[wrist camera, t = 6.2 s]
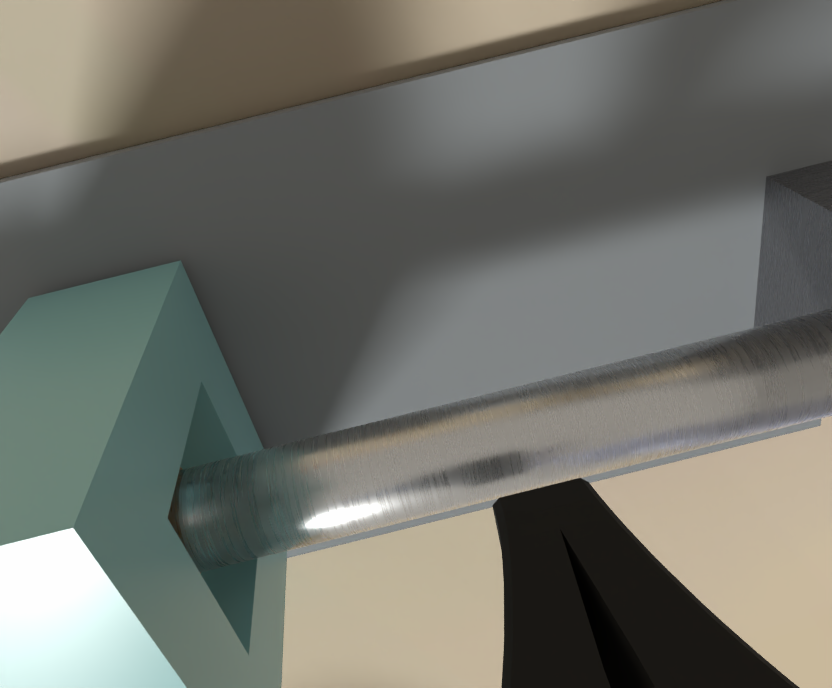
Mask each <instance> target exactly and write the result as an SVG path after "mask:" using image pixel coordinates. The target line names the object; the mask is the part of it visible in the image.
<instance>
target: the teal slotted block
mask: <svg viewBox="0 0 832 688" xmlns="http://www.w3.org/2000/svg"><path fill="white" fill-rule="evenodd" d="M263 449H264V448H263V446H262V443H261V441H260V439H259V437H258V434H257V432H256V430H255V428H254V425H253V423H252V421H251V418H250V416H249V414H248V412H247V409H246V407H245V405H244V403H243V400H242V398H241V396H240V394H239V391H238V389H237V387H236V384H235V382H234V380H233V378H232V375H231V373H230V371H229V369H228V366H227V364H226V362H225V360H224V357H223V355H222V353H221V350H220V348H219V346H218V344H217V341H216V339H215V337H214V335H213V332H212V330H211V328H210V326H209V323H208V321H207V319H206V317H205V314H204V312H203V310H202V307H201V305H200V303H199V301H198V298H197V296H196V294H195V292H194V289H193V287H192V285H191V283H190V280H189V278H188V276H187V273H186V271H185V269H184V267H183V264H182V262H181V260H180V261H176V262H172V263H168V264H164V265H160V266H156V267H152V268H148V269H144V270H140V271H136V272H132V273H128V274H124V275H120V276H116V277H111V278H107V279H103V280H99V281H95V282H91V283H87V284H83V285H79V286H75V287H71V288H67V289H63V290H59V291H55V292H51V293H47V294H43V295H39V296H35V297H31V298H28V299H27V301H26V302H25V303H24V304H23V306H22V307H21V308H20V310H19V311H18V312H17V313H16V315H15V316H14V317H13V319H12V320H11V321H10V322H9V324H8V325H7V326H6V328H5V329H4V330H3V331H2V333H1V334H0V688H281V682H282V658H283V634H284V610H285V586H286V562H287V551H285V552H281V553H277V554H273V555H269V556H265V557H261V558H257V559H253V560H249V561H245V562H241V563H236V564H232V565H228V566H224V567H220V568H216V569H212V570H208V571H204V572H202V573H201V574H200V572H199V571H198V569H197V567H196V565H195V564H194V562H193V560H192V559H191V557H190V555H189V554H188V552H187V550H186V549H185V547H184V545H183V544H182V542H181V540H180V538H179V537H178V535H177V533H176V532H175V530H174V528H173V527H172V525H171V523H170V522H169V520H168V514H169V510H170V506H171V502H172V498H173V494H174V490H175V486H176V482H177V478H178V474H179V469H180V467H181V468H183V469H186V468H190V467H194V466H198V465H202V464H206V463H210V462H215V461H219V460H223V459H227V458H231V457H235V456H239V455H243V454H247V453H251V452H255V451H259V450H263Z"/></svg>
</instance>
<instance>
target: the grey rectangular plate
mask: <svg viewBox="0 0 832 688" xmlns="http://www.w3.org/2000/svg"><path fill="white" fill-rule="evenodd" d="M831 160H832V0H723V1H719V2H715V3H711V4H707V5H703V6H699V7H695V8H691V9H687V10H683V11H679V12H675V13H671V14H667V15H663V16H659V17H655V18H651V19H646V20H642V21H638V22H634V23H630V24H626V25H622V26H618V27H614V28H610V29H606V30H602V31H598V32H594V33H590V34H586V35H582V36H578V37H574V38H570V39H566V40H562V41H558V42H553V43H549V44H545V45H541V46H537V47H533V48H529V49H525V50H521V51H517V52H513V53H509V54H505V55H501V56H497V57H493V58H489V59H485V60H481V61H477V62H473V63H469V64H464V65H460V66H456V67H452V68H448V69H444V70H440V71H436V72H432V73H428V74H424V75H420V76H416V77H412V78H408V79H404V80H400V81H396V82H392V83H388V84H384V85H380V86H375V87H371V88H367V89H363V90H359V91H355V92H351V93H347V94H343V95H339V96H335V97H331V98H327V99H323V100H319V101H315V102H311V103H307V104H303V105H299V106H295V107H291V108H287V109H282V110H278V111H274V112H270V113H266V114H262V115H258V116H254V117H250V118H246V119H242V120H238V121H234V122H230V123H226V124H222V125H218V126H214V127H210V128H206V129H202V130H198V131H193V132H189V133H185V134H181V135H177V136H173V137H169V138H165V139H161V140H157V141H153V142H149V143H145V144H141V145H137V146H133V147H129V148H125V149H121V150H117V151H113V152H109V153H104V154H100V155H96V156H92V157H88V158H84V159H80V160H76V161H72V162H68V163H64V164H60V165H56V166H52V167H48V168H44V169H40V170H36V171H32V172H28V173H24V174H20V175H16V176H11V177H7V178H3V179H0V334H1V333H2V331H3V330H4V329H5V328H6V326H7V325H8V324H9V322H10V321H11V320H12V319H13V317H14V316H15V315H16V313H17V312H18V311H19V310H20V308H21V307H22V306H23V304H24V303H25V302H26V301H27V299H28V298H31V297H35V296H39V295H43V294H47V293H51V292H55V291H59V290H63V289H67V288H71V287H75V286H79V285H83V284H87V283H91V282H95V281H99V280H103V279H107V278H111V277H116V276H120V275H124V274H128V273H132V272H136V271H140V270H144V269H148V268H152V267H156V266H160V265H164V264H168V263H172V262H176V261H180V260H181V262H182V264H183V267H184V269H185V271H186V273H187V276H188V278H189V280H190V283H191V285H192V287H193V289H194V292H195V294H196V296H197V298H198V301H199V303H200V305H201V307H202V310H203V312H204V314H205V317H206V319H207V321H208V323H209V326H210V328H211V330H212V332H213V335H214V337H215V339H216V341H217V344H218V346H219V348H220V350H221V353H222V355H223V357H224V360H225V362H226V364H227V366H228V369H229V371H230V373H231V375H232V378H233V380H234V382H235V384H236V387H237V389H238V391H239V394H240V396H241V398H242V400H243V403H244V405H245V407H246V409H247V412H248V414H249V416H250V418H251V421H252V423H253V425H254V428H255V430H256V432H257V434H258V437H259V439H260V441H261V443H262V446H263V448H264V449H267V448H271V447H275V446H279V445H283V444H287V443H291V442H295V441H299V440H303V439H307V438H311V437H315V436H319V435H323V434H327V433H331V432H335V431H340V430H344V429H348V428H352V427H356V426H360V425H364V424H368V423H372V422H376V421H380V420H384V419H388V418H392V417H396V416H400V415H404V414H408V413H412V412H416V411H420V410H424V409H428V408H432V407H436V406H440V405H444V404H448V403H452V402H456V401H460V400H464V399H469V398H473V397H477V396H481V395H485V394H489V393H493V392H497V391H501V390H505V389H509V388H513V387H517V386H521V385H525V384H529V383H533V382H537V381H541V380H545V379H549V378H553V377H557V376H561V375H565V374H569V373H573V372H577V371H581V370H585V369H589V368H593V367H598V366H602V365H606V364H610V363H614V362H618V361H622V360H626V359H630V358H634V357H638V356H642V355H646V354H650V353H654V352H658V351H662V350H666V349H670V348H674V347H678V346H682V345H686V344H690V343H694V342H698V341H702V340H706V339H710V338H714V337H718V336H722V335H727V334H731V333H735V332H739V331H743V330H747V329H751V328H754V318H755V306H756V294H757V282H758V270H759V258H760V246H761V234H762V222H763V210H764V198H765V186H766V177H767V176H771V175H775V174H779V173H783V172H787V171H791V170H795V169H799V168H803V167H807V166H811V165H815V164H819V163H823V162H827V161H831ZM820 424H821V418H820V419H816V420H812V421H808V422H804V423H800V424H796V425H792V426H788V427H784V428H780V429H776V430H772V431H768V432H764V433H760V434H756V435H752V436H748V437H744V438H740V439H736V440H732V441H728V442H724V443H720V444H716V445H712V446H708V447H704V448H700V449H696V450H692V451H688V452H684V453H679V454H675V455H671V456H667V457H663V458H659V459H655V460H651V461H647V462H643V463H639V464H635V465H631V466H627V467H623V468H619V469H615V470H611V471H607V472H603V473H599V474H595V475H591V476H587V477H583V478H582V479H584V480H586V481H588V482H589V483H591V482H595V481H599V480H603V479H607V478H611V477H615V476H619V475H623V474H627V473H631V472H635V471H640V470H644V469H648V468H652V467H656V466H660V465H664V464H668V463H672V462H676V461H680V460H684V459H688V458H692V457H696V456H700V455H704V454H708V453H712V452H716V451H720V450H724V449H728V448H732V447H736V446H740V445H744V444H748V443H752V442H756V441H760V440H764V439H768V438H772V437H776V436H780V435H784V434H789V433H793V432H797V431H801V430H805V429H809V428H813V427H817V426H820ZM496 501H497V499H494V500H490V501H486V502H482V503H478V504H474V505H470V506H466V507H462V508H458V509H454V510H450V511H446V512H442V513H438V514H434V515H430V516H426V517H422V518H418V519H414V520H410V521H406V522H402V523H398V524H394V525H390V526H385V527H381V528H377V529H373V530H369V531H365V532H361V533H357V534H353V535H349V536H345V537H341V538H337V539H333V540H329V541H325V542H321V543H317V544H313V545H309V546H305V547H301V548H297V549H293V550H289V551H287V558H289V557H293V556H297V555H301V554H305V553H309V552H313V551H317V550H321V549H325V548H329V547H333V546H338V545H342V544H346V543H350V542H354V541H358V540H362V539H366V538H370V537H374V536H378V535H382V534H386V533H390V532H394V531H398V530H402V529H406V528H410V527H414V526H418V525H422V524H426V523H430V522H434V521H438V520H442V519H446V518H450V517H454V516H458V515H462V514H466V513H470V512H474V511H478V510H482V509H487V508H491V507H493V504H494V503H495V502H496Z"/></svg>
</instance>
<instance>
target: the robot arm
mask: <svg viewBox="0 0 832 688" xmlns="http://www.w3.org/2000/svg"><path fill="white" fill-rule="evenodd" d="M493 510H494V515H495V520H496V525H497V530H498V535H499V540H500V544H501V549H502V560H503V576H504V656H503V673H502V688H799V687H798V686H797V685H795V684H794V683H793V682H792V681H790V680H789V679H788V678H787V677H786V676H784V675H783V674H782V673H781V672H780V671H778V670H777V669H776V668H775V667H774V666H772V665H771V664H770V663H769V662H768V661H767V660H765V659H764V658H763V657H762V656H761V655H759V654H758V653H757V652H756V651H755V650H754V649H753V648H751V647H750V646H749V645H748V644H747V643H746V642H745V641H743V640H742V639H741V638H740V637H739V636H738V635H737V634H735V633H734V632H733V631H732V630H731V629H730V628H729V627H728V626H726V625H725V624H724V623H723V622H722V621H721V620H720V619H719V618H718V617H716V616H715V615H714V614H713V613H712V612H711V611H710V610H709V609H708V608H707V607H706V606H705V605H703V604H702V603H701V602H700V601H699V600H698V599H697V598H696V597H695V596H694V595H693V594H692V593H691V592H690V591H689V590H688V589H687V588H686V587H685V586H684V585H683V584H682V583H681V582H680V581H679V580H678V579H677V578H676V577H674V576H673V575H672V574H671V573H670V572H669V571H668V570H667V569H666V568H665V567H664V566H663V565H662V564H661V563H660V562H659V561H658V560H657V559H656V558H655V557H654V556H653V555H652V554H651V553H650V552H649V551H648V549H647V548H646V547H645V546H644V545H643V544H642V543H641V542H640V541H639V540H638V539H637V538H636V537H635V536H634V535H633V533H632V532H631V531H630V530H629V529H628V528H627V527H626V526H625V525H624V524H623V523H622V521H621V520H620V519H619V518H618V517H617V516H616V515H615V514H614V512H613V511H612V510H611V509H610V508H609V507H608V506H607V504H606V503H605V502H604V501H603V500H602V498H601V497H600V496H599V495H598V494H597V492H596V491H595V490H594V489H593V487H592V486H591V485H590V483H589V482H588V481H586V480H584V479H582V478H577V479H573V480H569V481H565V482H561V483H557V484H553V485H549V486H545V487H540V488H536V489H532V490H528V491H524V492H520V493H516V494H512V495H508V496H504V497H500V498H498V499H497V501H496V502H495V503H494V504H493Z"/></svg>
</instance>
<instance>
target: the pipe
mask: <svg viewBox="0 0 832 688" xmlns="http://www.w3.org/2000/svg"><path fill="white" fill-rule="evenodd" d="M828 416H832V160H831V161H827V162H823V163H819V164H815V165H811V166H807V167H803V168H799V169H795V170H791V171H787V172H783V173H779V174H775V175H771V176H767V177H766V186H765V198H764V210H763V222H762V234H761V246H760V258H759V270H758V282H757V294H756V306H755V318H754V328H751V329H747V330H743V331H739V332H735V333H731V334H727V335H722V336H718V337H714V338H710V339H706V340H702V341H698V342H694V343H690V344H686V345H682V346H678V347H674V348H670V349H666V350H662V351H658V352H654V353H650V354H646V355H642V356H638V357H634V358H630V359H626V360H622V361H618V362H614V363H610V364H606V365H602V366H598V367H593V368H589V369H585V370H581V371H577V372H573V373H569V374H565V375H561V376H557V377H553V378H549V379H545V380H541V381H537V382H533V383H529V384H525V385H521V386H517V387H513V388H509V389H505V390H501V391H497V392H493V393H489V394H485V395H481V396H477V397H473V398H469V399H464V400H460V401H456V402H452V403H448V404H444V405H440V406H436V407H432V408H428V409H424V410H420V411H416V412H412V413H408V414H404V415H400V416H396V417H392V418H388V419H384V420H380V421H376V422H372V423H368V424H364V425H360V426H356V427H352V428H348V429H344V430H340V431H335V432H331V433H327V434H323V435H319V436H315V437H311V438H307V439H303V440H299V441H295V442H291V443H287V444H283V445H279V446H275V447H271V448H267V449H263V450H259V451H255V452H251V453H247V454H243V455H239V456H235V457H231V458H227V459H223V460H219V461H215V462H210V463H206V464H202V465H198V466H194V467H190V468H186V469H183V468H181V467H180V469H179V474H178V478H177V482H176V486H175V490H174V494H173V498H172V502H171V506H170V510H169V514H168V520H169V522H170V523H171V525H172V527H173V528H174V530H175V532H176V533H177V535H178V537H179V538H180V540H181V542H182V544H183V545H184V547H185V549H186V550H187V552H188V554H189V555H190V557H191V559H192V560H193V562H194V564H195V565H196V567H197V569H198V571H199V572H200V574H201V573H202V572H204V571H208V570H212V569H216V568H220V567H224V566H228V565H232V564H236V563H241V562H245V561H249V560H253V559H257V558H261V557H265V556H269V555H273V554H277V553H281V552H285V551H289V550H293V549H297V548H301V547H305V546H309V545H313V544H317V543H321V542H325V541H329V540H333V539H337V538H341V537H345V536H349V535H353V534H357V533H361V532H365V531H369V530H373V529H377V528H381V527H385V526H390V525H394V524H398V523H402V522H406V521H410V520H414V519H418V518H422V517H426V516H430V515H434V514H438V513H442V512H446V511H450V510H454V509H458V508H462V507H466V506H470V505H474V504H478V503H482V502H486V501H490V500H494V499H498V498H500V497H504V496H508V495H512V494H516V493H520V492H524V491H528V490H532V489H536V488H540V487H545V486H549V485H553V484H557V483H561V482H565V481H569V480H573V479H577V478H583V477H587V476H591V475H595V474H599V473H603V472H607V471H611V470H615V469H619V468H623V467H627V466H631V465H635V464H639V463H643V462H647V461H651V460H655V459H659V458H663V457H667V456H671V455H675V454H679V453H684V452H688V451H692V450H696V449H700V448H704V447H708V446H712V445H716V444H720V443H724V442H728V441H732V440H736V439H740V438H744V437H748V436H752V435H756V434H760V433H764V432H768V431H772V430H776V429H780V428H784V427H788V426H792V425H796V424H800V423H804V422H808V421H812V420H816V419H820V418H824V417H828Z"/></svg>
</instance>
